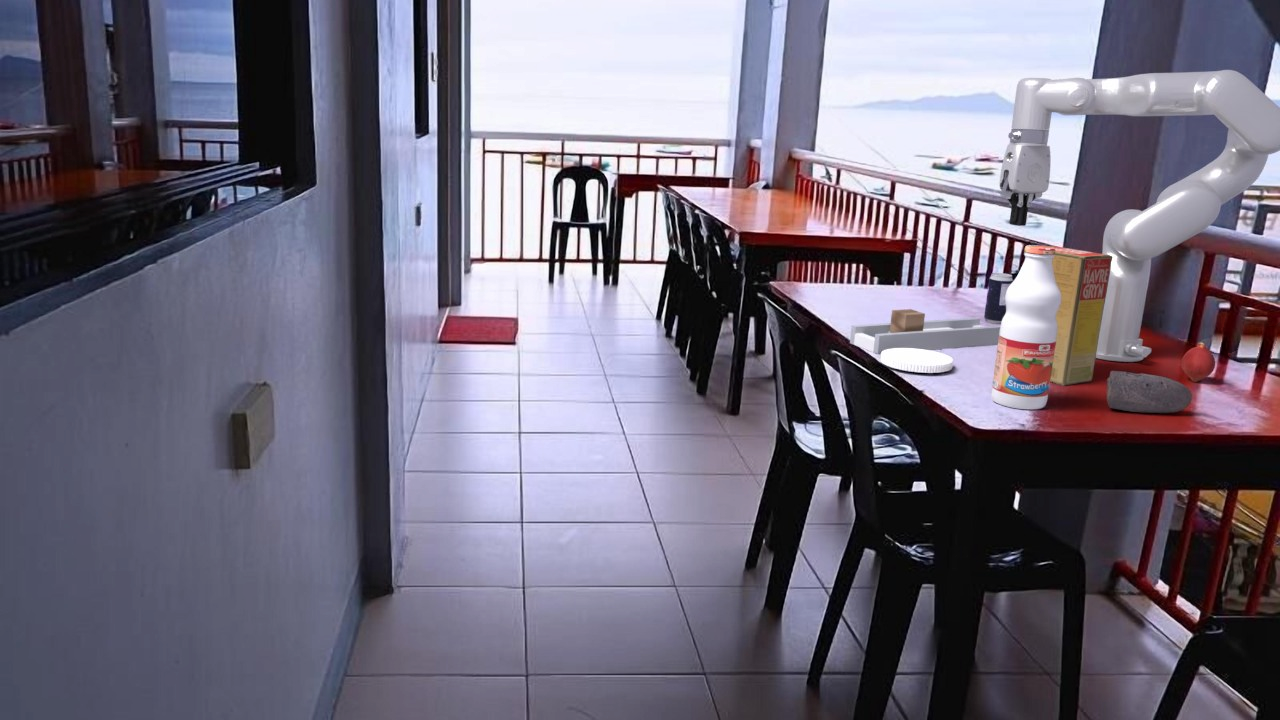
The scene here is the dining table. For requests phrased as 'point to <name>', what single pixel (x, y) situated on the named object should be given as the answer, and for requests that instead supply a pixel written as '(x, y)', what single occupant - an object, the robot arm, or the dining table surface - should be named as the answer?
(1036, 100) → the robot arm
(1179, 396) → the perforated stone tool
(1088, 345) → the food packaging
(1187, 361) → the onion
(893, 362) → the plastic lid
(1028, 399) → the fruit juice
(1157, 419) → the dining table surface
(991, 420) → the dining table surface
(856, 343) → the trap track
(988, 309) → the beverage can
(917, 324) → the walnut block
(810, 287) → the dining table surface
